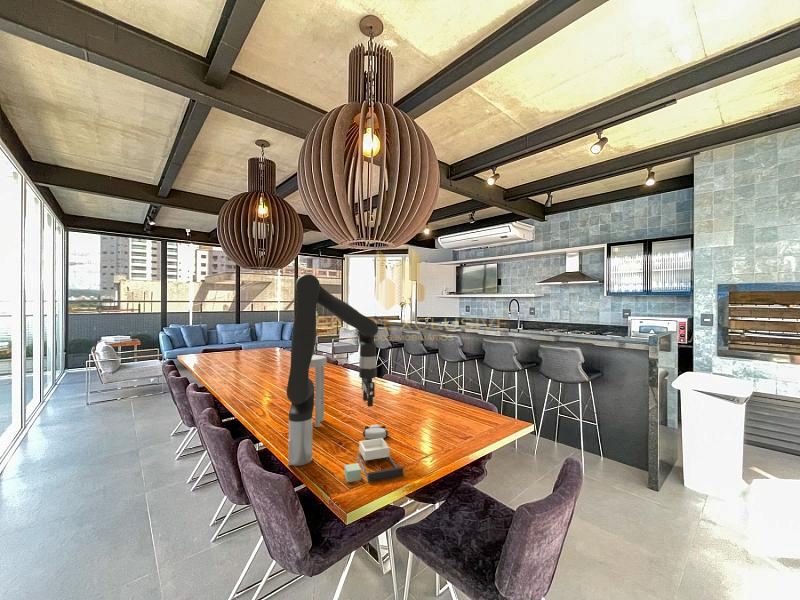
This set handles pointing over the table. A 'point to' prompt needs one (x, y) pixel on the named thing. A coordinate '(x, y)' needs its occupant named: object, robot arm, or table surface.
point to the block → (352, 472)
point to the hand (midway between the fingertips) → (367, 403)
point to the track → (382, 472)
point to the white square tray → (374, 449)
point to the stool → (319, 386)
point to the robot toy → (375, 432)
